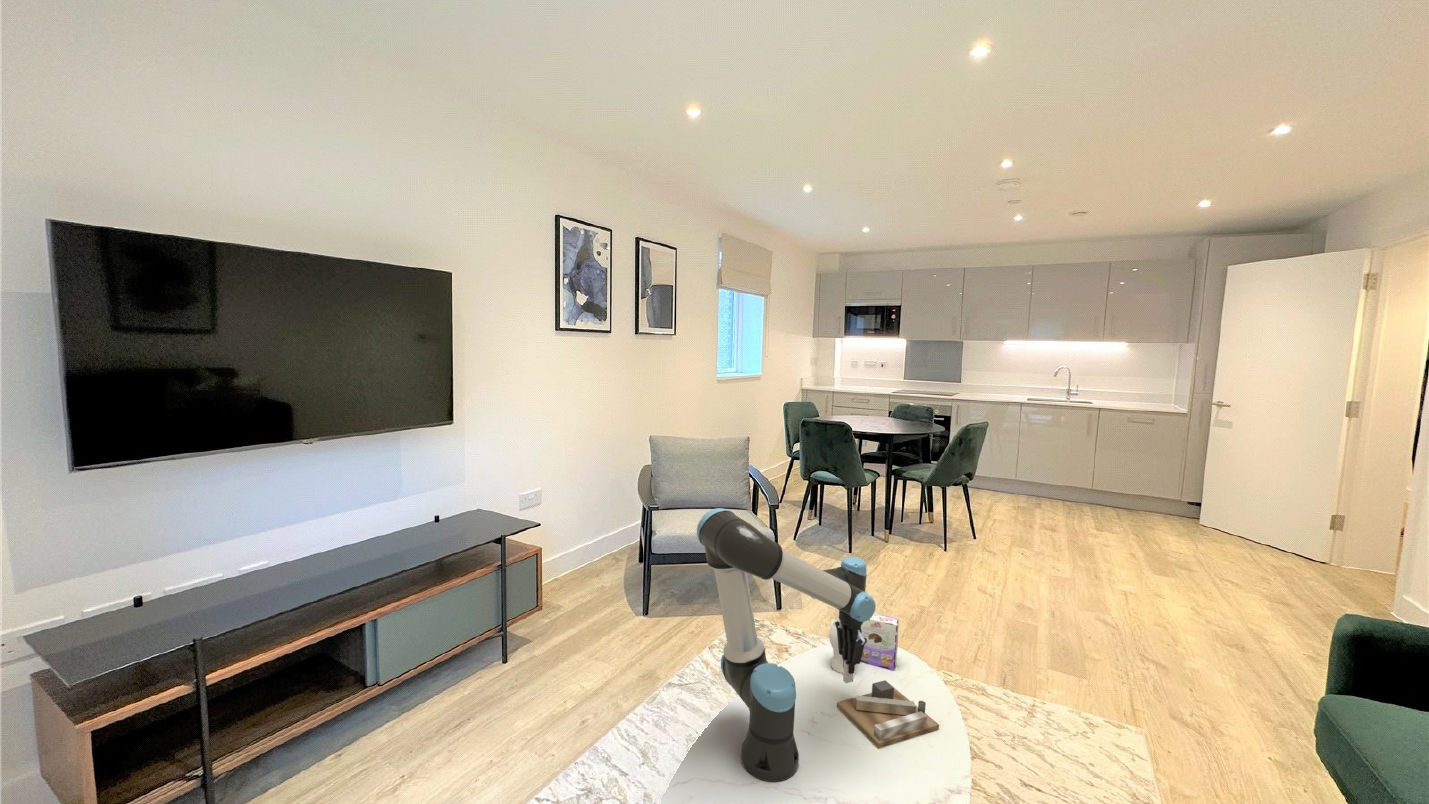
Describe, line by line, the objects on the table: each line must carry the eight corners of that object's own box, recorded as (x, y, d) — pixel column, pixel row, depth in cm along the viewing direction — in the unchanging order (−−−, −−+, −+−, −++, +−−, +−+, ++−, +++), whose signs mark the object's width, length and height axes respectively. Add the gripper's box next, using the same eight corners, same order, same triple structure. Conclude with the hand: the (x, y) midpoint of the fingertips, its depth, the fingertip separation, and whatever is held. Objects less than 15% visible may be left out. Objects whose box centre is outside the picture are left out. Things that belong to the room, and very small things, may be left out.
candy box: (896, 662, 194) (899, 618, 193) (894, 671, 189) (897, 625, 187) (856, 652, 200) (859, 608, 198) (853, 660, 194) (856, 615, 193)
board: (878, 748, 151) (879, 729, 151) (836, 706, 168) (837, 689, 168) (938, 729, 160) (940, 711, 159) (893, 691, 177) (894, 675, 177)
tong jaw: (856, 709, 164) (856, 700, 164) (855, 704, 167) (855, 695, 167) (915, 716, 163) (915, 706, 162) (913, 710, 165) (913, 701, 165)
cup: (827, 674, 186) (830, 631, 184) (826, 657, 196) (829, 616, 195) (860, 678, 184) (863, 635, 182) (857, 660, 194) (860, 620, 193)
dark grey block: (880, 705, 167) (881, 691, 167) (871, 697, 171) (872, 683, 171) (893, 701, 169) (894, 687, 169) (884, 693, 173) (885, 680, 173)
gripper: (875, 615, 165) (871, 690, 167) (848, 597, 177) (845, 667, 179) (855, 620, 162) (851, 696, 164) (829, 601, 174) (825, 672, 176)
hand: (848, 680), depth 172 cm, fingers closed
